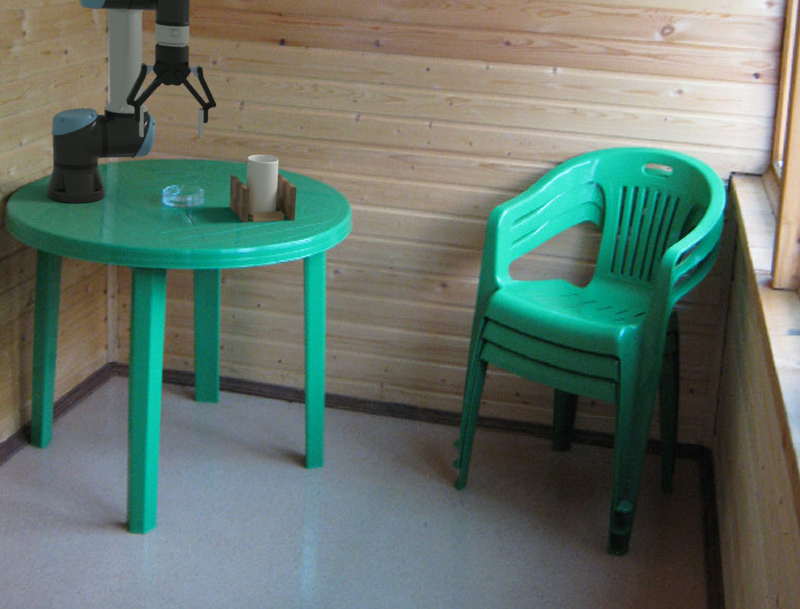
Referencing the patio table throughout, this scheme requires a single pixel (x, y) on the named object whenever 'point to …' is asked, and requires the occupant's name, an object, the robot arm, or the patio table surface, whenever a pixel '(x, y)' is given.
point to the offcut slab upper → (267, 216)
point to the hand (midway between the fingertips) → (171, 136)
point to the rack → (241, 198)
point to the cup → (262, 183)
